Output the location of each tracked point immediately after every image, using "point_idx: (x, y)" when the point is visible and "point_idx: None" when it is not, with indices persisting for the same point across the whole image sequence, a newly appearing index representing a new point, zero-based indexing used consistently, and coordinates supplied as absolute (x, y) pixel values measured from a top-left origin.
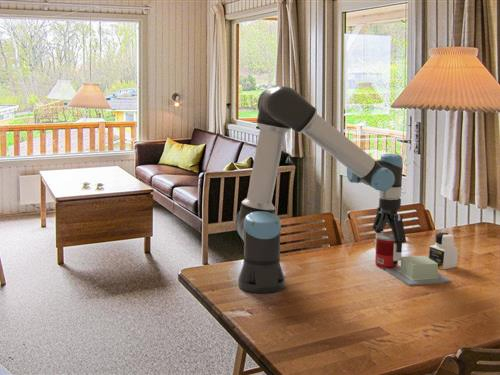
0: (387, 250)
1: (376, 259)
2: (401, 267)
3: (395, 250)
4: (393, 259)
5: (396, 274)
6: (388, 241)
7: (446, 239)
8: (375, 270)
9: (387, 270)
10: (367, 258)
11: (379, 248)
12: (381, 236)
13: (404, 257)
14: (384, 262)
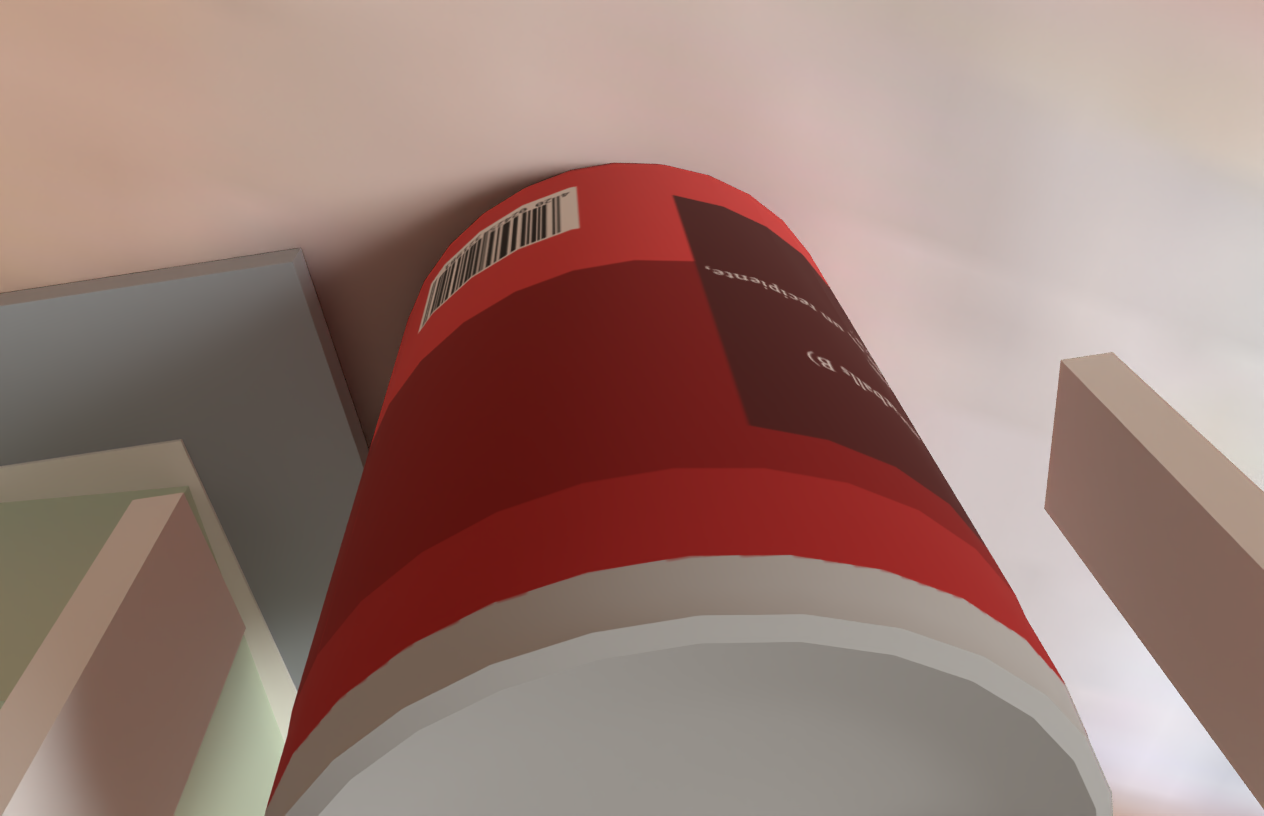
0: (341, 546)
1: (613, 198)
2: None
3: (11, 723)
4: (157, 511)
5: None
6: (274, 804)
7: None
8: (290, 26)
9: (211, 270)
10: (1139, 126)
11: (498, 383)
12: (858, 757)
13: None
14: (413, 317)
